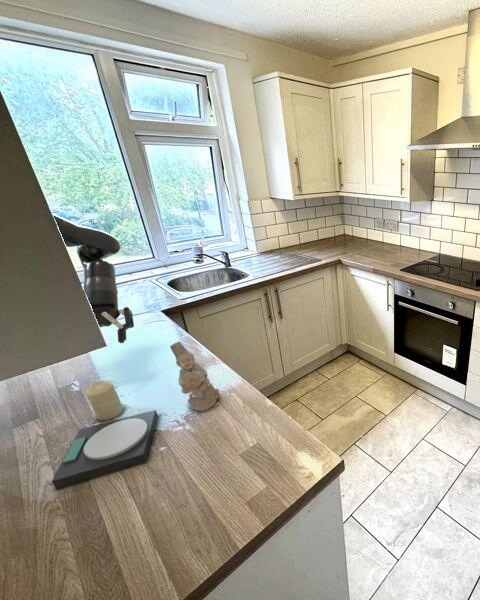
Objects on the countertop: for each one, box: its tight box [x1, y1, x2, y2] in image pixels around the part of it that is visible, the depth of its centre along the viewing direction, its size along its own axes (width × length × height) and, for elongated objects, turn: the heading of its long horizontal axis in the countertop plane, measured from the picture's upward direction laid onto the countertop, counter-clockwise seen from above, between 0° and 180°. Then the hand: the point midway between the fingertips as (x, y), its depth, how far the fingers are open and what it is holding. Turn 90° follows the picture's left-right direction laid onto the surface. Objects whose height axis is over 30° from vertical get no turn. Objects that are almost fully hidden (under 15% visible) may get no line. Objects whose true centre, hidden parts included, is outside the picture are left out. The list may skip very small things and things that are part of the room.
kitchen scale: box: [51, 409, 159, 490], centre depth 79 cm, size 16×16×3 cm
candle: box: [85, 380, 124, 421], centre depth 88 cm, size 6×6×10 cm
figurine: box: [169, 341, 220, 412], centre depth 91 cm, size 9×8×20 cm
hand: (102, 345), depth 93 cm, fingers open, 8 cm apart
